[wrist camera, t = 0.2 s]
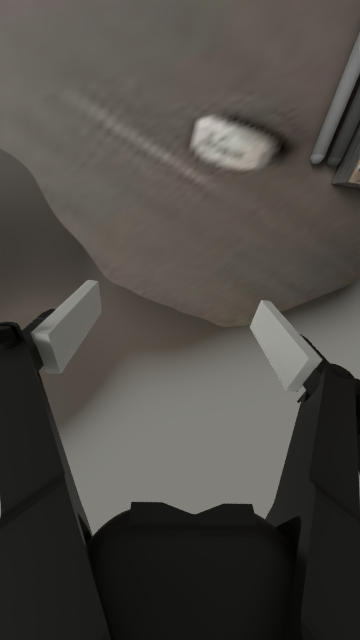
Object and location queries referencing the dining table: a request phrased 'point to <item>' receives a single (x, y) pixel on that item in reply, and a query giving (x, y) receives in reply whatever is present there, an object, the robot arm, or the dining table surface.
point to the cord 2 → (345, 132)
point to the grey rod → (338, 104)
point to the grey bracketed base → (350, 164)
